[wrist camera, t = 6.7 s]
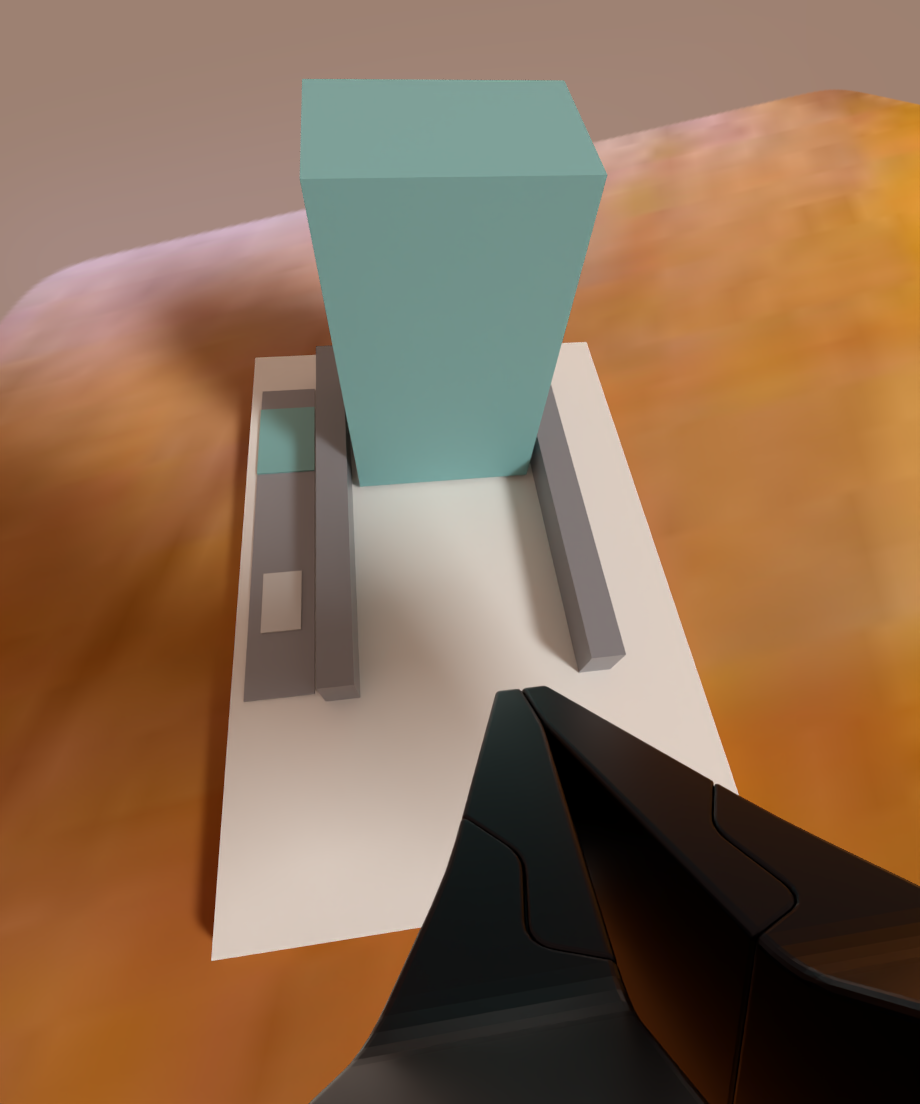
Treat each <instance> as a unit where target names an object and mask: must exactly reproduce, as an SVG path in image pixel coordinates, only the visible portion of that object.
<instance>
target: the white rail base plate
mask: <svg viewBox="0 0 920 1104" xmlns="http://www.w3.org/2000/svg"><path fill="white" fill-rule="evenodd" d="M536 686H547V687H549V688H551V689H553V690H554V691H556V692H558V693H560V694H561V695H563V696H565V697H567V698H568V699H570V700H572V701H574V702H575V703H577V704H579V705H581V706H582V707H584V708H586V709H588V710H589V711H591V712H593V713H595V714H596V715H598V716H600V717H602V718H603V719H605V720H607V721H609V722H610V723H612V724H614V725H616V726H617V727H619V728H621V729H623V730H625V731H626V732H628V733H630V734H632V735H633V736H635V737H637V738H639V739H640V740H642V741H644V742H646V743H647V744H649V745H651V746H653V747H654V748H656V749H658V750H660V751H661V752H663V753H665V754H667V755H668V756H670V757H672V758H674V759H675V760H677V761H679V762H681V763H682V764H684V765H686V766H688V767H689V768H691V769H693V770H695V771H696V772H698V773H700V774H702V775H703V776H705V777H707V778H709V779H710V780H712V781H713V782H714V785H715V784H720V785H721V786H723V787H725V788H727V789H728V790H730V791H732V792H734V793H735V794H737V795H739V794H738V791H737V788H736V785H735V782H734V779H733V776H732V773H731V770H730V767H729V764H728V761H727V758H726V756H725V753H724V750H723V747H722V744H721V741H720V738H719V735H718V732H717V729H716V726H715V723H714V720H713V717H712V714H711V711H710V708H709V705H708V702H707V699H706V696H705V693H704V690H703V687H702V684H701V681H700V678H699V675H698V672H697V669H696V666H695V663H694V660H693V657H692V654H691V651H690V648H689V646H688V643H687V640H686V637H685V634H684V631H683V628H682V625H681V622H680V619H679V616H678V613H677V610H676V607H675V604H674V601H673V598H672V595H671V592H670V589H669V586H668V583H667V580H666V577H665V574H664V571H663V568H662V565H661V562H660V559H659V556H658V553H657V550H656V547H655V544H654V541H653V539H652V536H651V533H650V530H649V527H648V524H647V521H646V518H645V515H644V512H643V509H642V506H641V503H640V500H639V497H638V494H637V491H636V488H635V485H634V482H633V479H632V476H631V473H630V470H629V467H628V464H627V461H626V458H625V455H624V452H623V449H622V446H621V443H620V440H619V437H618V434H617V431H616V429H615V426H614V423H613V420H612V417H611V414H610V411H609V408H608V405H607V402H606V399H605V396H604V393H603V390H602V387H601V384H600V381H599V378H598V375H597V372H596V369H595V366H594V363H593V360H592V357H591V354H590V351H589V348H588V345H587V342H577V343H562V344H561V348H560V352H559V356H558V359H557V363H556V367H555V370H554V374H553V378H552V381H551V385H550V389H549V393H548V396H547V400H546V404H545V407H544V411H543V415H542V419H541V422H540V426H539V430H538V433H537V437H536V441H535V444H534V448H533V452H532V456H531V459H530V463H529V467H528V470H527V474H526V475H514V476H500V477H486V478H473V479H459V480H445V481H432V482H418V483H404V484H390V485H377V486H363V487H360V483H359V477H358V472H357V467H356V462H355V457H354V452H353V447H352V442H351V437H350V432H349V427H348V422H347V416H346V411H345V406H344V401H343V396H342V391H341V386H340V381H339V376H338V371H337V366H336V361H335V355H334V350H333V346H316V355H301V356H280V357H259V358H255V370H254V384H253V397H252V411H251V425H250V438H249V452H248V466H247V479H246V493H245V507H244V520H243V534H242V548H241V561H240V575H239V589H238V602H237V616H236V630H235V643H234V657H233V671H232V684H231V698H230V712H229V725H228V739H227V753H226V766H225V780H224V794H223V807H222V821H221V835H220V848H219V862H218V876H217V889H216V903H215V917H214V930H213V944H212V958H211V961H214V960H220V959H226V958H233V957H239V956H245V955H251V954H258V953H264V952H270V951H276V950H283V949H289V948H295V947H301V946H308V945H314V944H320V943H326V942H333V941H339V940H345V939H351V938H358V937H364V936H370V935H376V934H383V933H389V932H395V931H401V930H408V929H414V928H420V927H422V925H423V922H424V920H425V918H426V916H427V914H428V911H429V909H430V907H431V905H432V902H433V900H434V898H435V895H436V893H437V890H438V888H439V885H440V883H441V880H442V878H443V876H444V873H445V871H446V868H447V865H448V861H449V858H450V855H451V852H452V849H453V846H454V843H455V839H456V836H457V832H458V829H459V825H460V822H461V820H462V815H463V811H464V808H465V804H466V800H467V797H468V793H469V789H470V786H471V782H472V778H473V775H474V771H475V767H476V764H477V760H478V756H479V753H480V749H481V745H482V742H483V738H484V734H485V730H486V727H487V723H488V719H489V716H490V712H491V708H492V705H493V701H494V697H495V694H496V692H498V691H502V690H510V689H520V690H521V691H522V690H523V689H524V688H528V687H536Z"/></svg>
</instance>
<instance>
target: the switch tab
mask: <svg viewBox="0 0 920 1104" xmlns="http://www.w3.org/2000/svg"><path fill="white" fill-rule="evenodd" d="M300 152H301V154H300V183H301V187H302V193H303V198H304V203H305V208H306V213H307V218H308V223H309V228H310V233H311V238H312V244H313V249H314V254H315V259H316V264H317V269H318V274H319V279H320V284H321V289H322V294H323V299H324V305H325V310H326V315H327V320H328V325H329V330H330V335H331V340H332V345H333V350H334V355H335V361H336V366H337V371H338V376H339V381H340V386H341V391H342V396H343V401H344V406H345V411H346V416H347V422H348V427H349V432H350V437H351V442H352V447H353V452H354V457H355V462H356V467H357V472H358V477H359V483H360V487H363V486H377V485H390V484H404V483H418V482H432V481H445V480H459V479H473V478H486V477H500V476H514V475H526V474H527V470H528V467H529V463H530V459H531V456H532V452H533V448H534V444H535V441H536V437H537V433H538V430H539V426H540V422H541V419H542V415H543V411H544V407H545V404H546V400H547V396H548V393H549V389H550V385H551V381H552V378H553V374H554V370H555V367H556V363H557V359H558V356H559V352H560V348H561V344H562V341H563V337H564V333H565V330H566V326H567V322H568V318H569V315H570V311H571V307H572V304H573V300H574V296H575V293H576V289H577V285H578V281H579V278H580V274H581V270H582V267H583V263H584V259H585V256H586V252H587V248H588V244H589V241H590V237H591V233H592V230H593V226H594V222H595V218H596V215H597V211H598V207H599V204H600V200H601V196H602V193H603V189H604V185H605V181H606V178H607V173H606V171H605V169H604V167H603V165H602V162H601V160H600V158H599V156H598V154H597V151H596V149H595V147H594V145H593V143H592V141H591V138H590V136H589V134H588V132H587V130H586V127H585V125H584V123H583V121H582V119H581V117H580V114H579V112H578V110H577V108H576V105H575V103H574V101H573V99H572V97H571V95H570V92H569V90H568V88H567V86H566V84H565V82H564V81H555V80H551V81H550V80H547V81H545V80H537V81H536V80H379V79H378V80H377V79H373V80H372V79H371V80H370V79H303V80H302V111H301V151H300Z"/></svg>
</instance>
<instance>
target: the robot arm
mask: <svg viewBox="0 0 920 1104" xmlns="http://www.w3.org/2000/svg"><path fill="white" fill-rule="evenodd" d="M309 1104H920V886H918V885H916V884H914V883H912V882H910V881H908V880H906V879H904V878H902V877H900V876H898V875H895V874H893V873H891V872H889V871H887V870H885V869H883V868H881V867H879V866H877V865H875V864H873V863H871V862H868V861H866V860H864V859H862V858H860V857H858V856H856V855H854V854H852V853H850V852H848V851H846V850H844V849H842V848H839V847H837V846H835V845H833V844H831V843H829V842H827V841H825V840H823V839H821V838H819V837H817V836H815V835H813V834H811V833H809V832H807V831H805V830H803V829H801V828H799V827H797V826H795V825H793V824H791V823H789V822H787V821H785V820H783V819H781V818H779V817H777V816H776V815H774V814H772V813H770V812H768V811H766V810H764V809H763V808H761V807H759V806H757V805H755V804H753V803H752V802H750V801H748V800H746V799H744V798H742V797H741V796H739V795H737V794H735V793H734V792H732V791H730V790H728V789H727V788H725V787H723V786H721V785H720V784H715V785H714V782H713V781H712V780H710V779H709V778H707V777H705V776H703V775H702V774H700V773H698V772H696V771H695V770H693V769H691V768H689V767H688V766H686V765H684V764H682V763H681V762H679V761H677V760H675V759H674V758H672V757H670V756H668V755H667V754H665V753H663V752H661V751H660V750H658V749H656V748H654V747H653V746H651V745H649V744H647V743H646V742H644V741H642V740H640V739H639V738H637V737H635V736H633V735H632V734H630V733H628V732H626V731H625V730H623V729H621V728H619V727H617V726H616V725H614V724H612V723H610V722H609V721H607V720H605V719H603V718H602V717H600V716H598V715H596V714H595V713H593V712H591V711H589V710H588V709H586V708H584V707H582V706H581V705H579V704H577V703H575V702H574V701H572V700H570V699H568V698H567V697H565V696H563V695H561V694H560V693H558V692H556V691H554V690H553V689H551V688H549V687H547V686H536V687H528V688H524V689H523V690H522V691H521V690H520V689H510V690H502V691H498V692H496V694H495V697H494V701H493V705H492V708H491V712H490V716H489V719H488V723H487V727H486V730H485V734H484V738H483V742H482V745H481V749H480V753H479V756H478V760H477V764H476V767H475V771H474V775H473V778H472V782H471V786H470V789H469V793H468V797H467V800H466V804H465V808H464V811H463V815H462V820H461V822H460V825H459V829H458V832H457V836H456V839H455V843H454V846H453V849H452V852H451V855H450V858H449V861H448V865H447V868H446V871H445V873H444V876H443V878H442V880H441V883H440V885H439V888H438V890H437V893H436V895H435V898H434V900H433V902H432V905H431V907H430V909H429V911H428V914H427V916H426V918H425V920H424V922H423V925H422V927H421V929H420V931H419V933H418V936H417V938H416V940H415V942H414V944H413V946H412V949H411V951H410V953H409V955H408V957H407V960H406V962H405V964H404V966H403V968H402V971H401V973H400V975H399V977H398V979H397V981H396V984H395V986H394V988H393V990H392V992H391V995H390V997H389V999H388V1001H387V1003H386V1005H385V1007H384V1009H383V1011H382V1013H381V1015H380V1018H379V1020H378V1022H377V1023H376V1025H375V1027H374V1029H373V1031H372V1032H371V1034H370V1036H369V1038H368V1039H367V1041H366V1043H365V1044H364V1046H363V1047H362V1049H361V1050H360V1052H359V1053H358V1054H357V1055H356V1057H355V1058H354V1059H353V1061H352V1062H351V1063H350V1064H349V1065H348V1067H347V1068H346V1069H345V1070H344V1071H343V1072H342V1073H341V1074H339V1075H338V1076H337V1077H336V1078H335V1079H334V1080H333V1081H332V1082H331V1083H330V1084H329V1085H328V1086H327V1087H326V1088H325V1089H324V1090H323V1091H322V1092H320V1093H319V1094H318V1095H317V1096H316V1097H315V1098H314V1099H313V1100H312V1101H311V1102H310V1103H309Z"/></svg>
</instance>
